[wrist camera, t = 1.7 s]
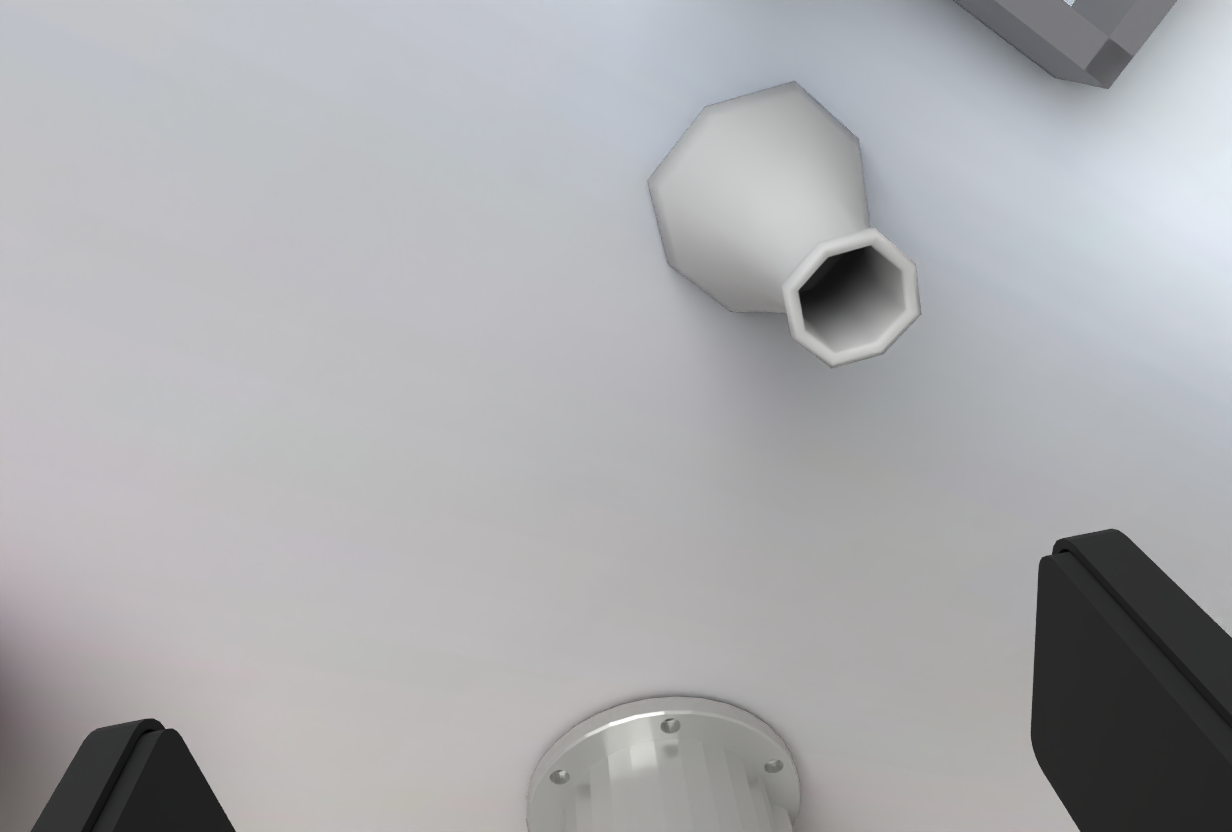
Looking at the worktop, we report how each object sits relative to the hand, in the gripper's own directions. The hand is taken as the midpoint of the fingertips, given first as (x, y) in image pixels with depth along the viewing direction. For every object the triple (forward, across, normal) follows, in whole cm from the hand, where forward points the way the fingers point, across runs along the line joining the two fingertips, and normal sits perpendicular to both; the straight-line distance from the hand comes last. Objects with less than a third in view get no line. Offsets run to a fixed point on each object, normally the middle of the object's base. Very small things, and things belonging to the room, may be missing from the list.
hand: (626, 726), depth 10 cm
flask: (+22, -6, +1) cm, 23 cm away
